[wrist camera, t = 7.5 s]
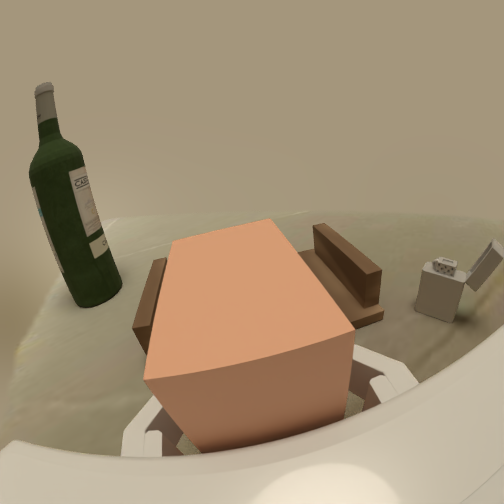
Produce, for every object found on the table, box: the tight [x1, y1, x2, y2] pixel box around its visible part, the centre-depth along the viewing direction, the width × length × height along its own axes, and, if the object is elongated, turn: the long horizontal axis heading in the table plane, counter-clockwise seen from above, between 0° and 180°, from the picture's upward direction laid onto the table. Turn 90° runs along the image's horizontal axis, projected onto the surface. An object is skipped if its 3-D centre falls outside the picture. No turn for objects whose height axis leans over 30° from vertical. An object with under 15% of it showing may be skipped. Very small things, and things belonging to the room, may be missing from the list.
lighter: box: [415, 238, 504, 323], centre depth 17 cm, size 7×2×8 cm, turn 42°
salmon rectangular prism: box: [143, 218, 355, 454], centre depth 10 cm, size 4×7×11 cm, turn 10°
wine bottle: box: [29, 82, 122, 307], centre depth 27 cm, size 8×8×30 cm
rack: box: [132, 223, 384, 355], centre depth 26 cm, size 20×14×4 cm
